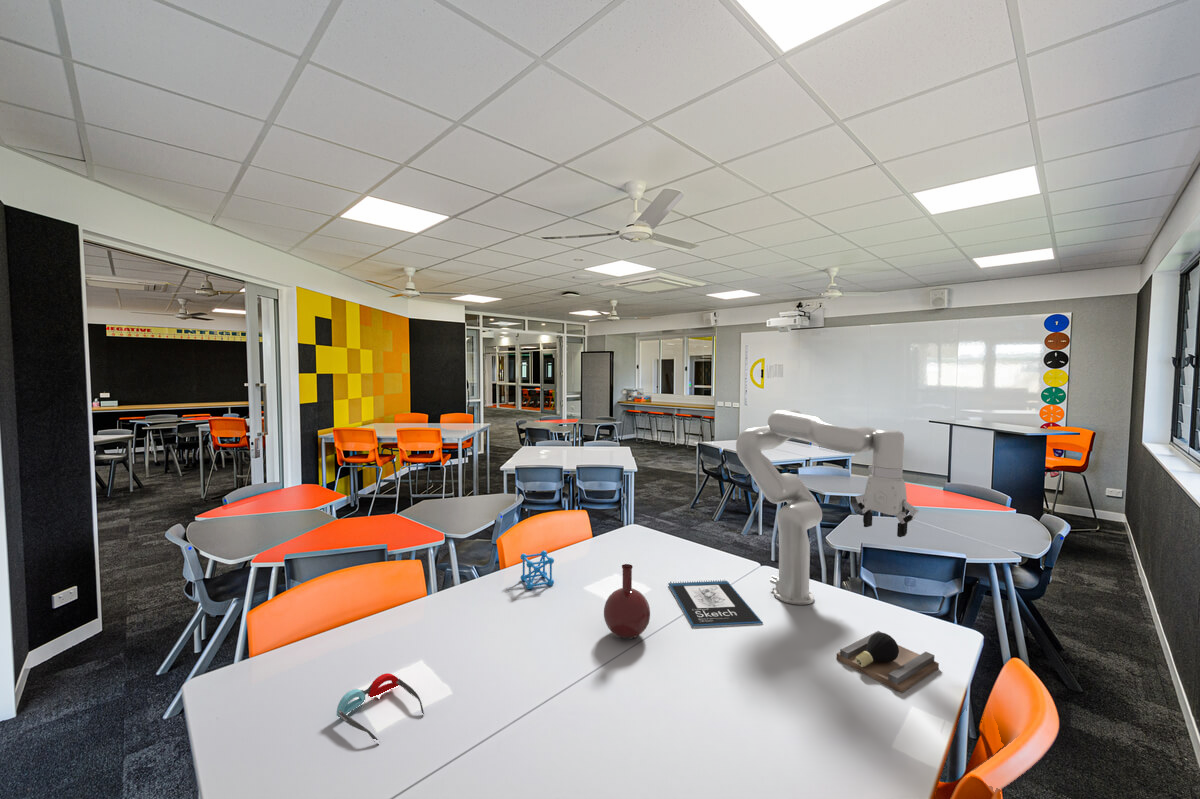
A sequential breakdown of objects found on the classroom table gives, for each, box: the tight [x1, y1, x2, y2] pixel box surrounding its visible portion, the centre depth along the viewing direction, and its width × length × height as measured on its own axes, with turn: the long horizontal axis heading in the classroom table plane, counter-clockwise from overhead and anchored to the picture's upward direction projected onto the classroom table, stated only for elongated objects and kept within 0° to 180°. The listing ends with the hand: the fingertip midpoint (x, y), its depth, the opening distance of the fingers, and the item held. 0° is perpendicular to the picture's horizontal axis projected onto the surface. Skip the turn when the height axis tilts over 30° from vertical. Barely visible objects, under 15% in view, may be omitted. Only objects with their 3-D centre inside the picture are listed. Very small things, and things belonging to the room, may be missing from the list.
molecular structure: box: [519, 550, 555, 590], centre depth 171 cm, size 10×10×10 cm
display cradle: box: [835, 630, 940, 693], centre depth 123 cm, size 16×18×3 cm
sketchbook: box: [667, 579, 764, 629], centre depth 156 cm, size 22×30×2 cm
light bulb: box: [856, 632, 899, 667], centre depth 121 cm, size 7×7×12 cm
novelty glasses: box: [336, 672, 425, 740], centre depth 103 cm, size 14×15×5 cm
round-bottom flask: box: [603, 563, 651, 640], centre depth 136 cm, size 13×13×20 cm
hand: (884, 531), depth 139 cm, fingers open, 9 cm apart
